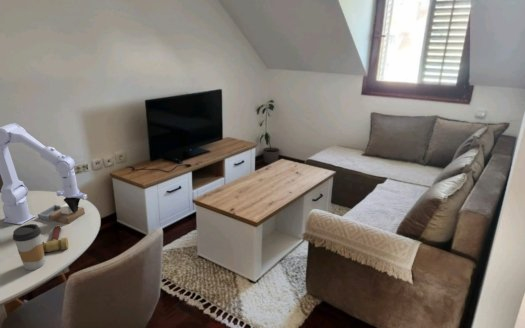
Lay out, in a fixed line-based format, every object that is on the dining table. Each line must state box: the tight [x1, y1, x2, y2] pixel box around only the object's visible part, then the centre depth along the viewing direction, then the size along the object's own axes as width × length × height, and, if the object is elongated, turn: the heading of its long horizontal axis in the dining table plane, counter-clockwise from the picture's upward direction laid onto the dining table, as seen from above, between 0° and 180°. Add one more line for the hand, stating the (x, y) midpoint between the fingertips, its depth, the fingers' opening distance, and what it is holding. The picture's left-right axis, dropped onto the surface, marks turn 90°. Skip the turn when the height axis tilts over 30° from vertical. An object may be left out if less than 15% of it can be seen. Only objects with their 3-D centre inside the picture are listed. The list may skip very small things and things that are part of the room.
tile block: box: [60, 202, 72, 214], centre depth 158 cm, size 4×4×3 cm
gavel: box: [42, 225, 69, 254], centre depth 142 cm, size 21×5×10 cm
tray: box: [37, 204, 62, 222], centre depth 161 cm, size 6×10×2 cm, turn 165°
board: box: [49, 206, 86, 225], centre depth 159 cm, size 10×10×3 cm
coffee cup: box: [12, 223, 46, 271], centre depth 124 cm, size 8×8×15 cm
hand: (75, 211), depth 157 cm, fingers closed
